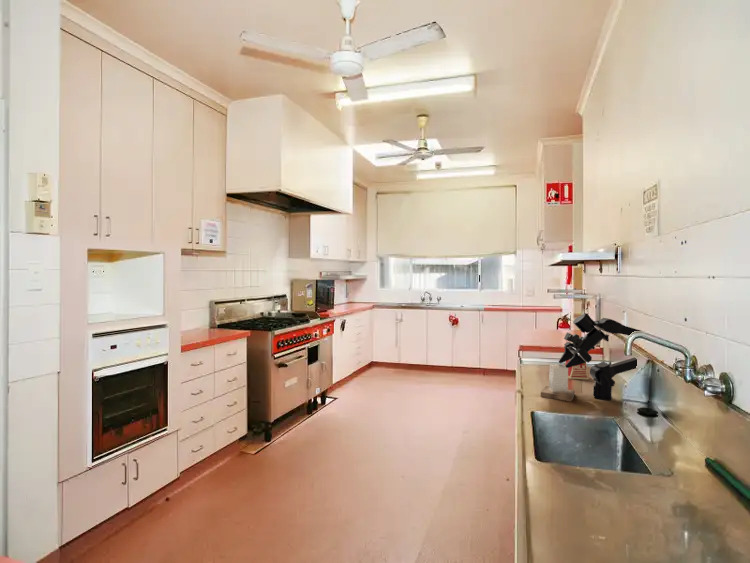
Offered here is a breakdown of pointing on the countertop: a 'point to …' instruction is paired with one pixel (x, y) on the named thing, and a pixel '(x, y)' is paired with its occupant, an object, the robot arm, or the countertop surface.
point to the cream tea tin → (558, 378)
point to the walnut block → (558, 394)
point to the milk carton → (577, 371)
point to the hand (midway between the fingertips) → (562, 364)
